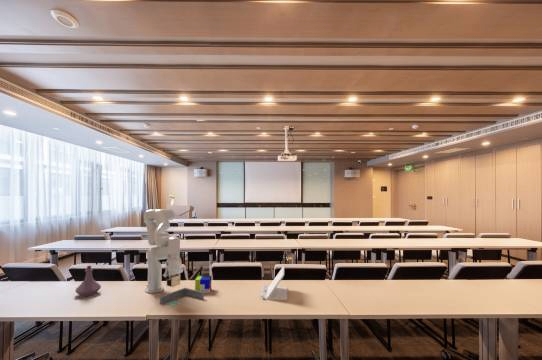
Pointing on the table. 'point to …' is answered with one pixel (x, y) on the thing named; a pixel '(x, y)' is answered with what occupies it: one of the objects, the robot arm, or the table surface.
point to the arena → (178, 294)
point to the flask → (88, 284)
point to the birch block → (175, 280)
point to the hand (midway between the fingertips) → (173, 284)
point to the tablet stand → (275, 289)
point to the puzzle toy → (203, 284)
